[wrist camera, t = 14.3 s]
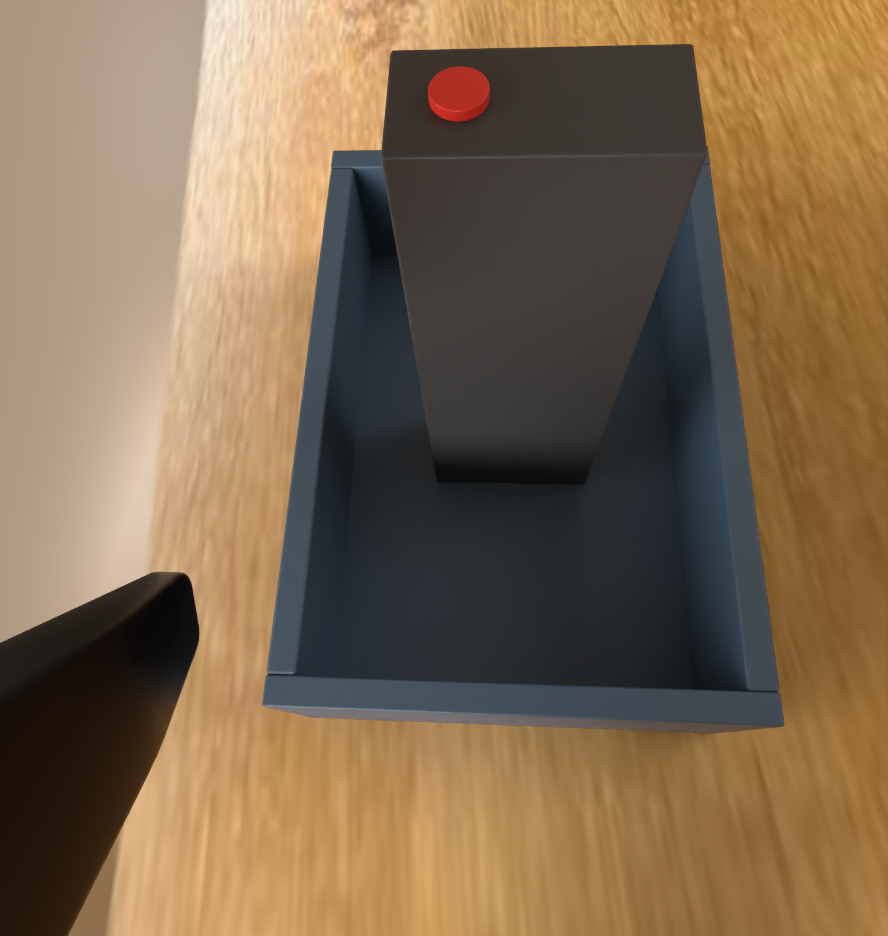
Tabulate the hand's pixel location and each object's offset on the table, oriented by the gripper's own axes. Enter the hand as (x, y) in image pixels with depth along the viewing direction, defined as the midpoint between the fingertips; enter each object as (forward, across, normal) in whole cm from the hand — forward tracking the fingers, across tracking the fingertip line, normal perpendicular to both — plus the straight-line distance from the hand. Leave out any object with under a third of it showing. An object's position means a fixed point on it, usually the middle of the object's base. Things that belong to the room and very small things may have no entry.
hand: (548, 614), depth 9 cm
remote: (+14, 0, +3) cm, 14 cm away
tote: (+14, 0, +4) cm, 15 cm away
